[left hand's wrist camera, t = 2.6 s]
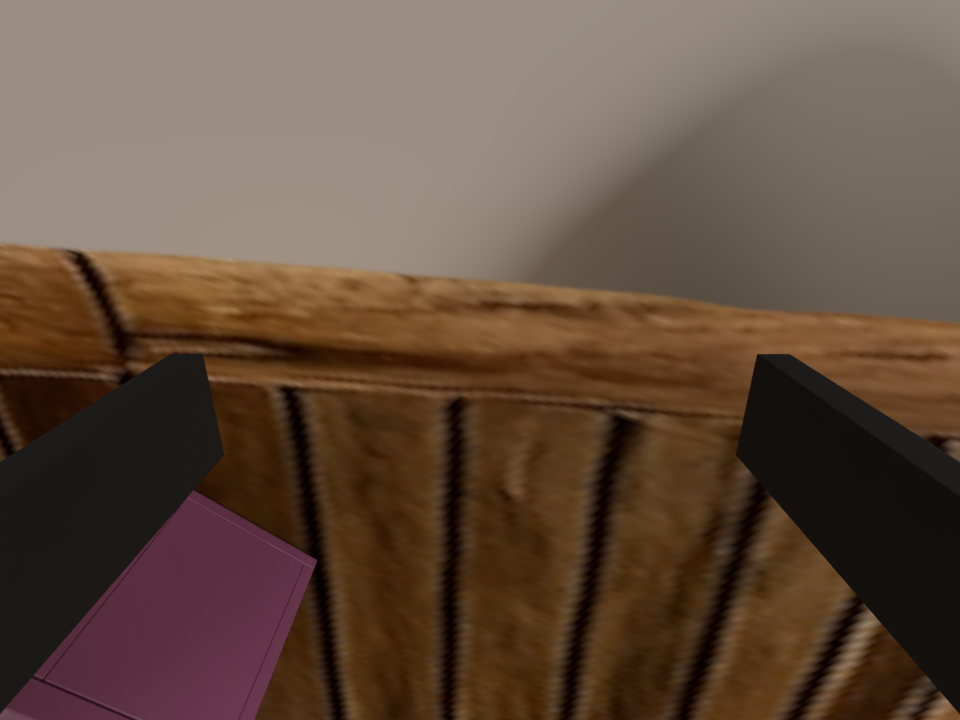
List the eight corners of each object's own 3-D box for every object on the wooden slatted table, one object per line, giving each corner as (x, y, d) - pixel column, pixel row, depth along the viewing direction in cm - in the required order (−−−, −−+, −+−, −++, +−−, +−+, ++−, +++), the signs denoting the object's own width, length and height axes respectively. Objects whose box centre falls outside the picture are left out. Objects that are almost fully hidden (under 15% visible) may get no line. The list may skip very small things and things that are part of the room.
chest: (221, 656, 37) (121, 857, 27) (97, 596, 35) (-63, 794, 25) (317, 560, 32) (238, 762, 23) (182, 482, 30) (25, 671, 20)
